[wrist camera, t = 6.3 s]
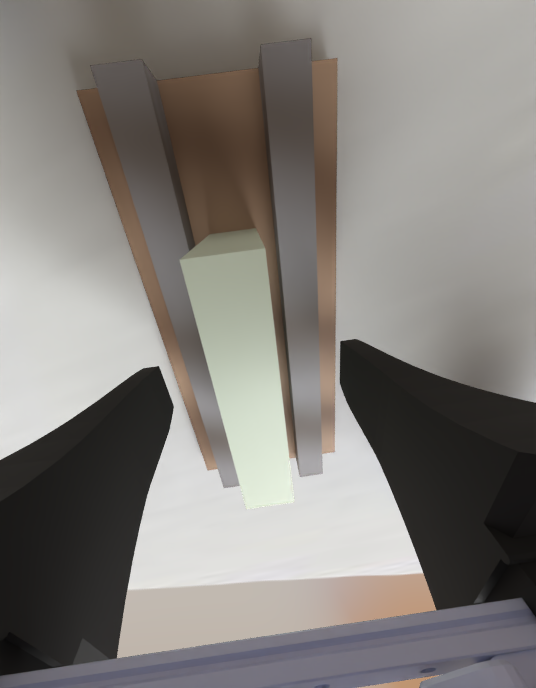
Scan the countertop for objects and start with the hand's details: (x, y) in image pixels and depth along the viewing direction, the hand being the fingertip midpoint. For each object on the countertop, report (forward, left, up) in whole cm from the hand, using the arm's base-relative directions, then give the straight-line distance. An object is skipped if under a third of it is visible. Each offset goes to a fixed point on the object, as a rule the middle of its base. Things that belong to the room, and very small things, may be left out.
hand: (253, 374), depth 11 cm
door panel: (0, 0, -4) cm, 4 cm away
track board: (0, 0, -5) cm, 5 cm away
